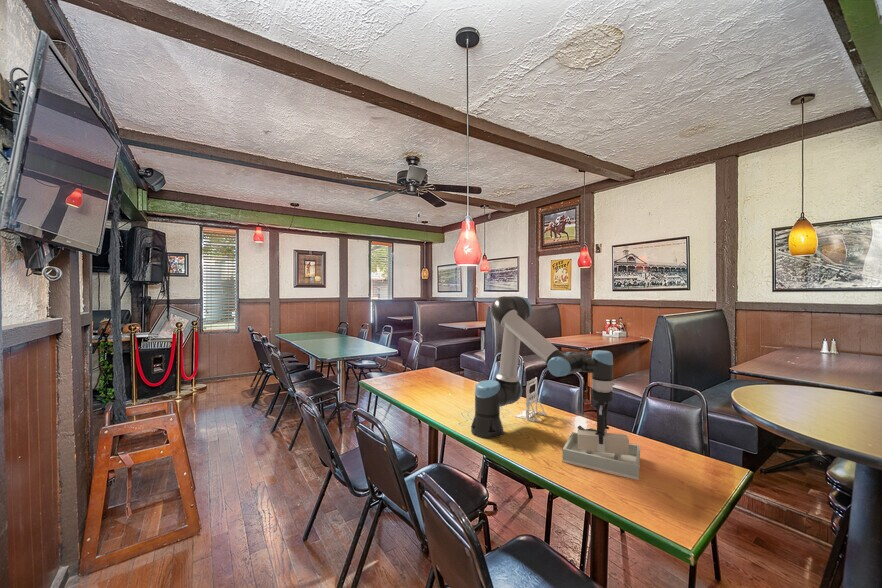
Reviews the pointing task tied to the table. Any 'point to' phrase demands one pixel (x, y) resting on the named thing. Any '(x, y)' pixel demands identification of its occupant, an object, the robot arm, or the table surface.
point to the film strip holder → (526, 412)
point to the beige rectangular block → (612, 442)
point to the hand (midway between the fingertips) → (602, 448)
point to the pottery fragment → (586, 429)
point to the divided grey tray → (603, 459)
